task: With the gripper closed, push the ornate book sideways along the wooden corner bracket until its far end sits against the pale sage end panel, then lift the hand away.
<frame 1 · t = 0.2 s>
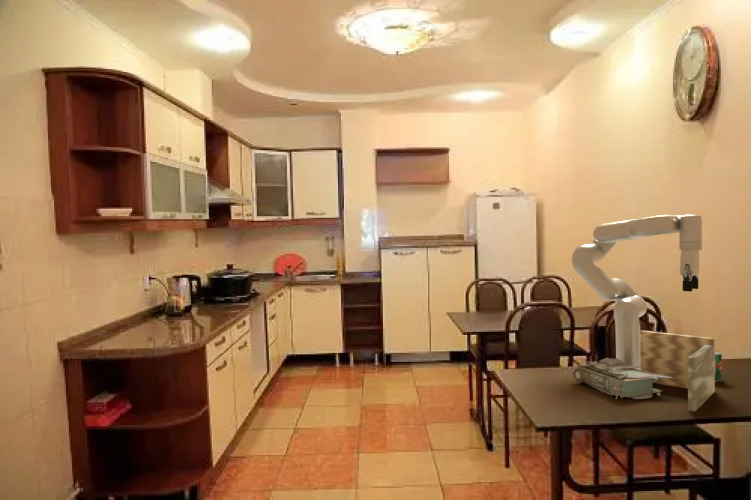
hand: (690, 289, 203), 37 cm above the table, tool pointing down, fingers open, 9 cm apart
wooden corner bracket: (666, 394, 191), on the table
canned tomato: (710, 379, 208), on the table
ornate book: (619, 390, 199), on the table
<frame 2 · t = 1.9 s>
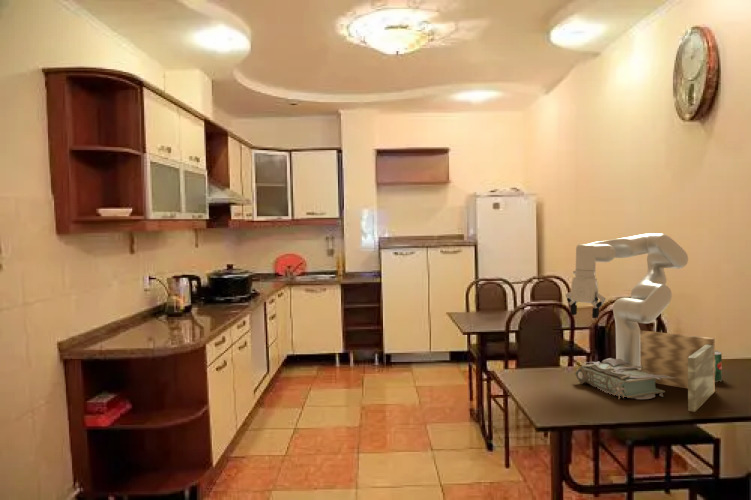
hand: (584, 316, 211), 26 cm above the table, tool pointing down, fingers open, 9 cm apart
nothing on the table moved.
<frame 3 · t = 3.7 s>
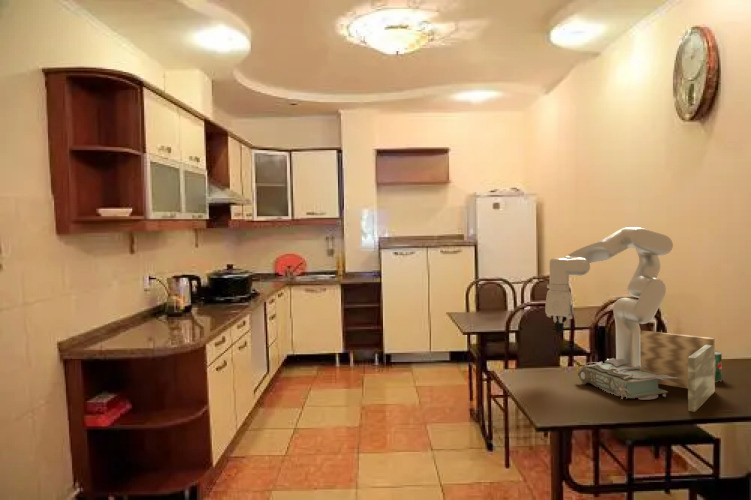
hand: (559, 332, 214), 19 cm above the table, tool pointing down, fingers closed
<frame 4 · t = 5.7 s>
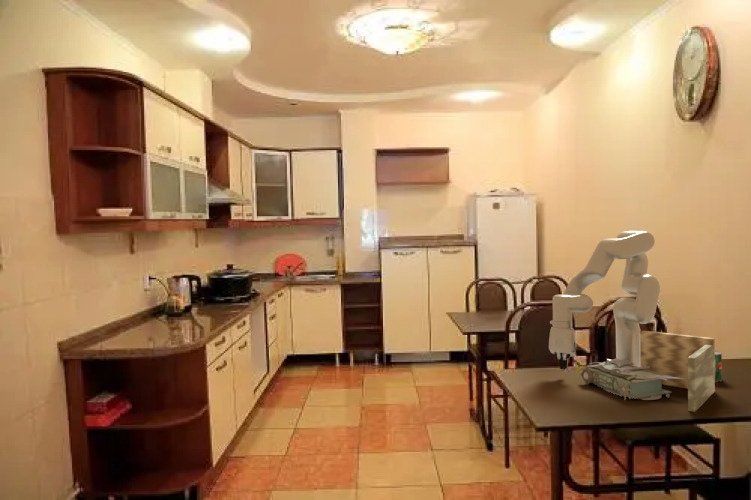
hand: (563, 368, 214), 4 cm above the table, tool pointing down, fingers closed
ornate book: (627, 390, 197), on the table
everything else where it was.
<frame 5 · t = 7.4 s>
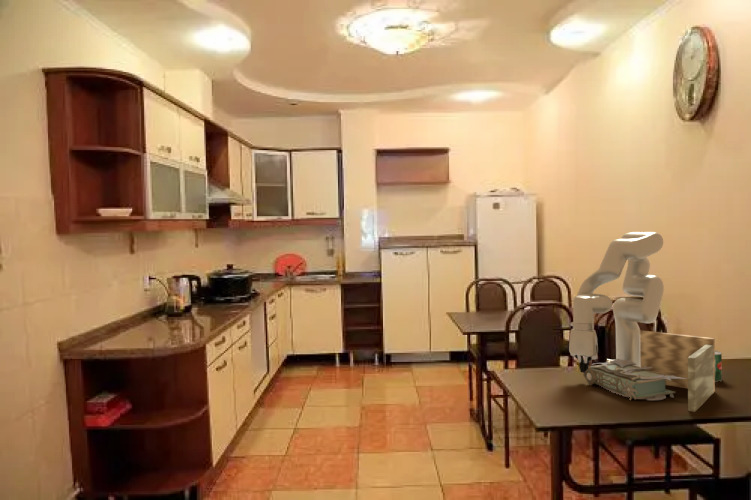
hand: (584, 371, 208), 4 cm above the table, tool pointing down, fingers closed
ornate book: (631, 391, 197), on the table
everything else where it was.
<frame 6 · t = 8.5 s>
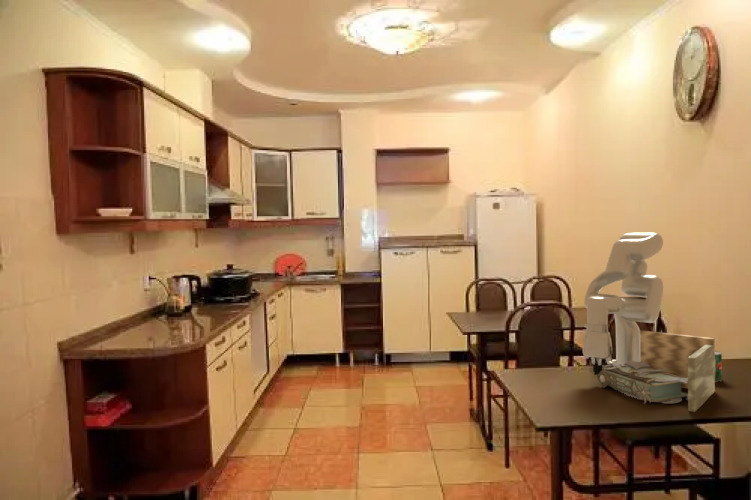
hand: (597, 374, 204), 4 cm above the table, tool pointing down, fingers closed
ornate book: (645, 393, 193), on the table, touching gripper
everything else where it was.
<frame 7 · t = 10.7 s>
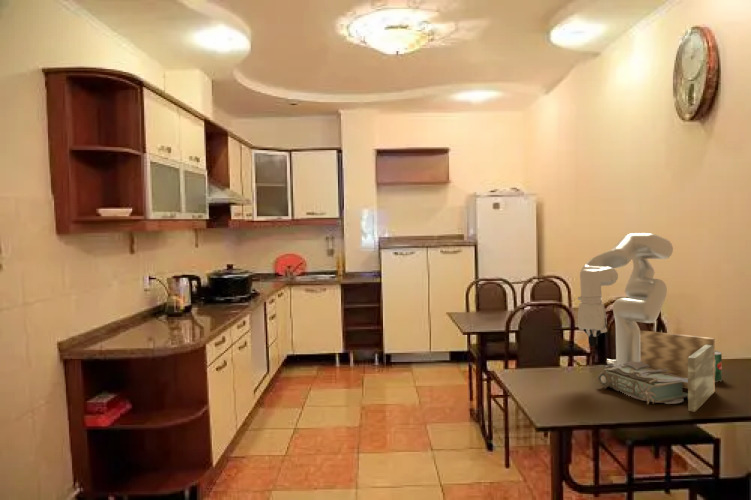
hand: (593, 345, 206), 15 cm above the table, tool pointing down, fingers closed
ornate book: (646, 394, 193), on the table
everything else where it was.
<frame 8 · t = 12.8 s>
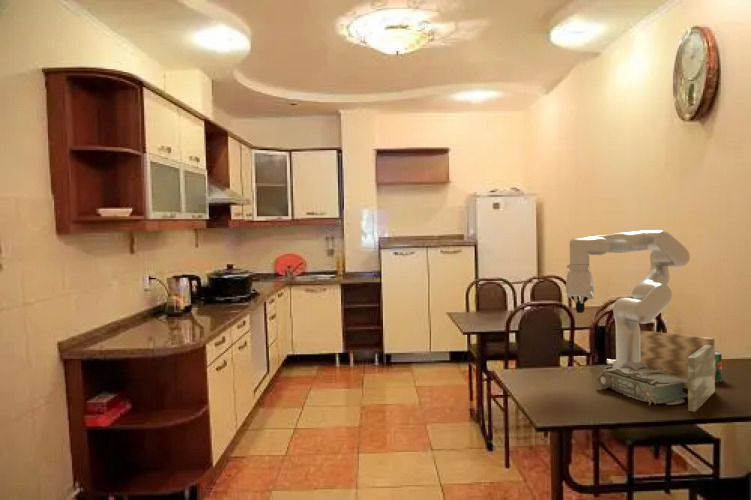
hand: (580, 312, 214), 27 cm above the table, tool pointing down, fingers closed
at the end: ornate book 0.6 cm from the target spot, on the table; ornate book moved 10.0 cm from its start; ornate book tilted 0° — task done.
